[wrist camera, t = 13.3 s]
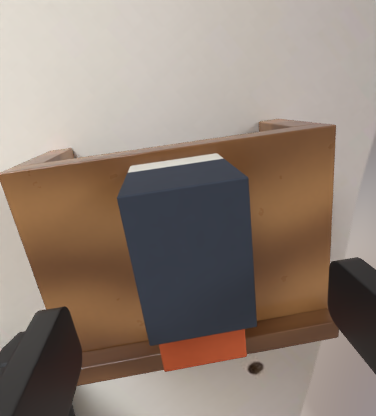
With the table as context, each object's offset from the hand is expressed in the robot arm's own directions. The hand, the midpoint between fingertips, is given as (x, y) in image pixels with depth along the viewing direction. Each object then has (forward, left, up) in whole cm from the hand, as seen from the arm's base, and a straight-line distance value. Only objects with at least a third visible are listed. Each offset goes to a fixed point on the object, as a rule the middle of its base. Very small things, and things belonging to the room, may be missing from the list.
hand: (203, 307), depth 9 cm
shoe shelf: (+2, 0, -13) cm, 14 cm away
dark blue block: (+1, 0, -6) cm, 7 cm away
